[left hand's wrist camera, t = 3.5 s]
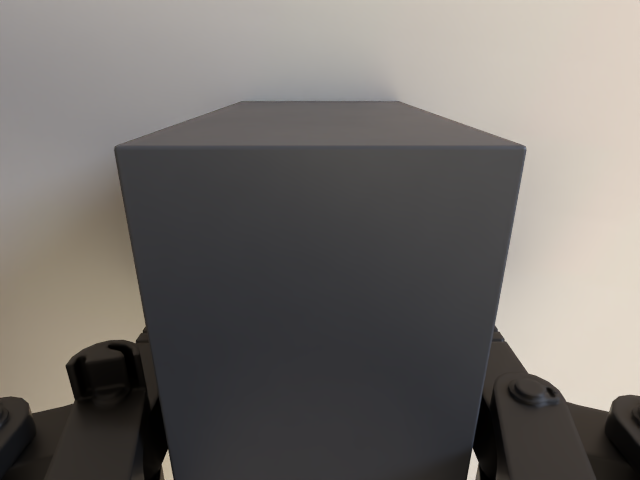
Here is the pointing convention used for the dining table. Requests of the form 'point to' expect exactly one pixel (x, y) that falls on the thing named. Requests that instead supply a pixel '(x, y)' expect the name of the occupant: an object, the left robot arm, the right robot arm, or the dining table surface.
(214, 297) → the bar
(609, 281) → the dining table surface
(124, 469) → the left robot arm
